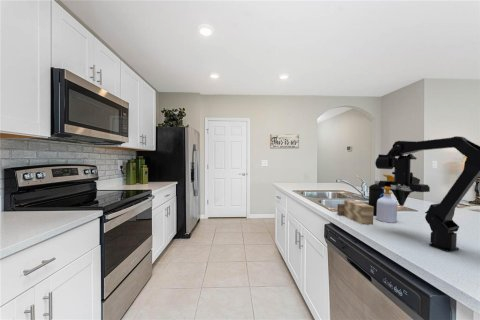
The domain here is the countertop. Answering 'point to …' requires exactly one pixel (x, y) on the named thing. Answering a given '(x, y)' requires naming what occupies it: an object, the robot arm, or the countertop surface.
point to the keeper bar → (358, 211)
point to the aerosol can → (375, 195)
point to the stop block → (340, 209)
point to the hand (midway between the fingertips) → (401, 205)
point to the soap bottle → (387, 205)
